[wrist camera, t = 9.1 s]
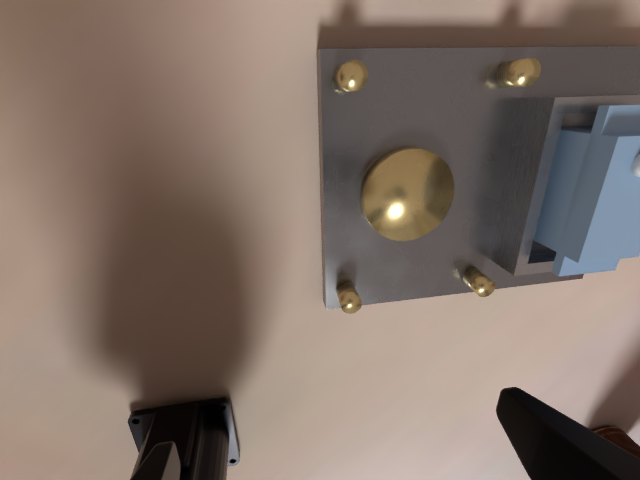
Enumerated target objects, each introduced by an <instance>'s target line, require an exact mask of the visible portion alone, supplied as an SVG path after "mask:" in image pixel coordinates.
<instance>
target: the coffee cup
mask: <svg viewBox="0 0 640 480" xmlns="http://www.w3.org/2000/svg"><path fill="white" fill-rule="evenodd" d="M594 432H595V433H597V434H598V435H600V436H602V437H603V438H605V439H607V440H609V441H610V442H612V443H614V444H615V445H617V446H619V447H621V448H622V449H624V450H626V451H627V452H629V453H631V454H633V455H634V456H636V457H638V458H639V459H640V446H639V445H638V444H636V443H635V442H634V441H633V440H632V439H631V438H630V437H629V436H628V435H627V434H626V433H625V432H624V431H622V430H621V429H619V428H618V427H606V428H602V429H598V430H596V431H594Z"/></svg>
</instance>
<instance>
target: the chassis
mask: <svg viewBox="0 0 640 480" xmlns="http://www.w3.org/2000/svg"><path fill="white" fill-rule="evenodd" d="M317 78H318V116H319V154H320V192H321V230H322V268H323V301H324V304H325V307H326V310H327V309H335V308H342V310H343V311H344V312H346V313H355V312H357V311H358V310H359V309H360V308H361V306H362V305H368V304H376V303H384V302H393V301H401V300H409V299H417V298H426V297H434V296H442V295H450V294H458V293H467V292H476V293H477V294H478V295H479V296H481V297H486V296H489V295H490V294H491V293H492V292H493V291H494V289H500V288H508V287H516V286H524V285H532V284H541V283H549V282H557V281H565V280H574V279H582V278H583V275H584V274H577V275H568V276H559V277H558V276H557V275H555V274H553V273H552V272H551V271H552V267H553V264H554V260H555V257H556V253H557V252H556V251H554V250H552V249H550V248H548V247H546V246H544V245H542V244H540V243H538V242H536V241H534V240H533V239H534V235H535V231H536V227H537V223H538V219H539V215H540V211H541V207H542V203H543V199H544V195H545V191H546V187H547V183H548V179H549V174H550V170H551V166H552V162H553V158H554V154H555V150H556V146H557V142H558V138H559V134H560V130H561V127H575V126H593V124H594V121H595V117H596V114H597V110H598V107H599V106H600V105H633V104H640V46H581V47H458V48H334V49H319V50H318V51H317Z"/></svg>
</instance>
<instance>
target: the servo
mask: <svg viewBox="0 0 640 480" xmlns="http://www.w3.org/2000/svg"><path fill="white" fill-rule="evenodd" d="M533 240H534V241H536V242H538V243H540V244H542V245H544V246H546V247H548V248H550V249H552V250H554V251H556V252H557V253H556V257H555V260H554V264H553V267H552V271H551V272H552V273H553V274H555V275H557V276H558V277H559V276H568V275H577V274H586V273H595V272H603V271H612V270H616V267H617V264H618V261H619V259H621V258H631V257H638V256H639V253H640V104H633V105H600V106H599V107H598V110H597V114H596V117H595V121H594V124H593V126H575V127H561V130H560V134H559V138H558V142H557V146H556V150H555V154H554V158H553V162H552V166H551V170H550V174H549V179H548V183H547V187H546V191H545V195H544V199H543V203H542V207H541V211H540V215H539V219H538V223H537V227H536V231H535V235H534V239H533Z"/></svg>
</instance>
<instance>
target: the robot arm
mask: <svg viewBox="0 0 640 480" xmlns="http://www.w3.org/2000/svg"><path fill="white" fill-rule="evenodd" d="M221 405H224V406H221ZM496 413H497V416H498V419H499V421H500V423H501V425H502V426H503V428H504V430H505V432H506V434H507V436H508V438H509V440H510V442H511V444H512V446H513V447H514V449H515V451H516V453H517V455H518V457H519V459H520V461H521V463H522V465H523V466H524V468H525V470H526V472H527V474H528V475H529V477H530V478H531V480H640V459H639V458H638V457H636V456H634V455H633V454H631V453H629V452H627V451H626V450H624V449H622V448H621V447H619V446H617V445H615V444H614V443H612V442H610V441H609V440H607V439H605V438H603V437H602V436H600V435H598V434H597V433H595V432H593V431H591V430H590V429H588V428H586V427H585V426H583V425H581V424H579V423H578V422H576V421H574V420H573V419H571V418H569V417H567V416H566V415H564V414H562V413H561V412H559V411H557V410H555V409H554V408H552V407H550V406H549V405H547V404H545V403H543V402H542V401H540V400H538V399H537V398H535V397H533V396H531V395H530V394H528V393H526V392H525V391H523V390H521V389H519V388H517V387H510V388H504V389H502V390H501V392H500V396H499V400H498V404H497V407H496ZM128 424H129V427H130V430H131V432H132V435H133V438H134V441H135V444H136V446H137V449H138V452H139V455H138V458H137V461H136V464H135V467H134V470H133V473H132V476H131V479H130V480H226V476H227V467H228V466H234V465H237V464H238V463H239V461H240V453H239V447H238V442H237V436H236V431H235V425H234V420H233V414H232V409H231V403H230V400H229V399H227V398H218V399H211V400H205V401H198V402H192V403H185V404H179V405H172V406H166V407H159V408H153V409H146V410H140V411H135V412H133V413H131V415H130V417H129V419H128Z"/></svg>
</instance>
